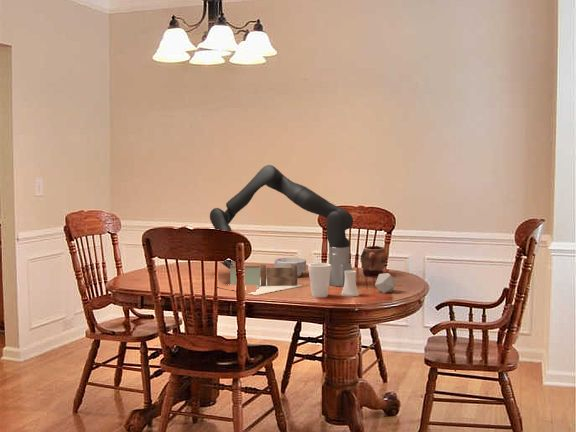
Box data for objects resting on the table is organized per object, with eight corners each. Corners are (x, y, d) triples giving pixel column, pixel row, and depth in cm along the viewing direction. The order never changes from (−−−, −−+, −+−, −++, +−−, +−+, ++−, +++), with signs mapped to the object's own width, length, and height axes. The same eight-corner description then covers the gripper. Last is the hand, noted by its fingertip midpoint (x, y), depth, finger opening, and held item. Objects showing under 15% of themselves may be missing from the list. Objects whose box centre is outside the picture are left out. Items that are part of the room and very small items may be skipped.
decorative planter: (384, 280, 320) (385, 250, 318) (358, 279, 322) (358, 249, 321) (387, 272, 339) (387, 244, 338) (362, 272, 341) (362, 244, 340)
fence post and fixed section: (297, 284, 309) (297, 264, 308) (297, 285, 306) (297, 265, 305) (260, 285, 309) (260, 264, 308) (260, 286, 306) (260, 265, 305)
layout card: (302, 286, 307) (302, 285, 307) (255, 295, 287) (255, 294, 287) (262, 279, 325) (262, 278, 325) (216, 287, 306) (216, 286, 306)
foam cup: (312, 298, 281) (311, 267, 279) (305, 294, 289) (305, 263, 288) (334, 297, 283) (334, 265, 282) (327, 293, 292) (326, 262, 291)
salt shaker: (362, 294, 288) (362, 270, 287) (352, 297, 282) (352, 273, 281) (348, 292, 293) (348, 269, 292) (337, 295, 287) (337, 271, 286)
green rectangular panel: (259, 284, 308) (259, 265, 307) (259, 285, 307) (259, 265, 306) (230, 284, 308) (230, 265, 307) (230, 285, 307) (230, 266, 306)
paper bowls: (306, 278, 326) (306, 261, 325) (274, 278, 326) (273, 262, 325) (306, 273, 341) (306, 257, 340) (275, 273, 341) (275, 257, 340)
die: (387, 290, 299) (374, 273, 298) (403, 282, 294) (389, 265, 293) (382, 300, 293) (368, 283, 292) (397, 293, 288) (383, 275, 286)
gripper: (216, 240, 316) (226, 270, 306) (243, 238, 321) (254, 268, 311) (213, 250, 321) (222, 280, 311) (239, 248, 327) (249, 278, 317)
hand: (238, 274), depth 311 cm, fingers closed
